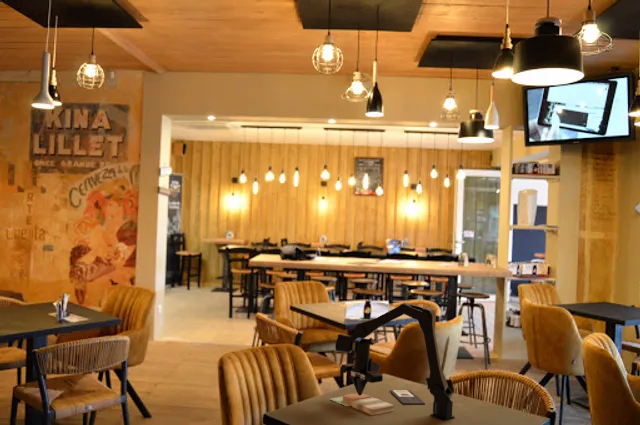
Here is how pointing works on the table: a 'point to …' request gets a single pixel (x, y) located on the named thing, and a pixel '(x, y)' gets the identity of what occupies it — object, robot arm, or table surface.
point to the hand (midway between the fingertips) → (359, 395)
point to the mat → (340, 401)
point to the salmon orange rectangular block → (354, 397)
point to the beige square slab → (372, 406)
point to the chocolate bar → (407, 397)
